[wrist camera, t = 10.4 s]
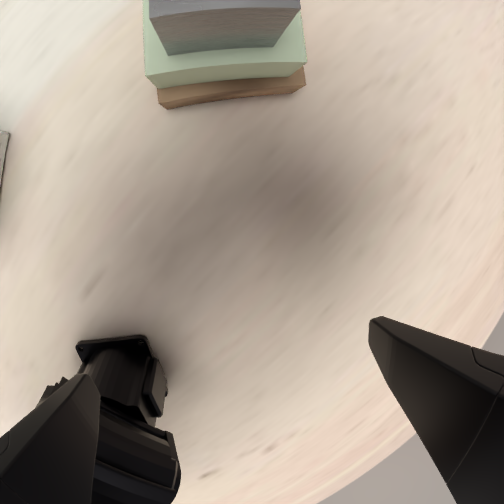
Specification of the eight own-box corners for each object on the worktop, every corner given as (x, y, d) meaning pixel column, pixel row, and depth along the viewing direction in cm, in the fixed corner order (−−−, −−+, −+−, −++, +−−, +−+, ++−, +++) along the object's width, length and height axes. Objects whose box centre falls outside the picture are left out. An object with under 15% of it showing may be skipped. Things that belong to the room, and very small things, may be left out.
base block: (167, 110, 18) (158, 103, 15) (156, 6, 15) (147, -16, 12) (290, 93, 19) (306, 85, 15) (273, -7, 16) (284, -30, 12)
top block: (158, 89, 14) (145, 75, 11) (154, -15, 12) (143, -44, 9) (288, 77, 15) (307, 62, 12) (275, -25, 13) (288, -53, 9)
